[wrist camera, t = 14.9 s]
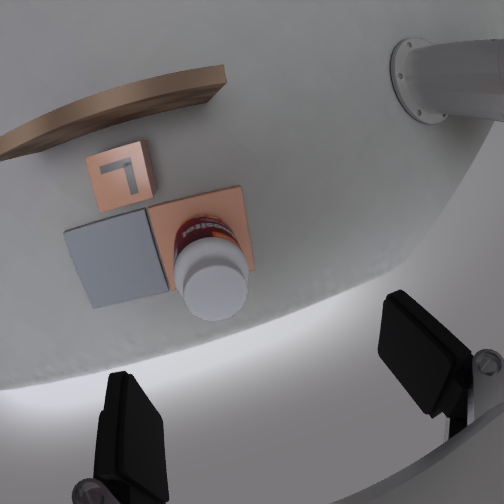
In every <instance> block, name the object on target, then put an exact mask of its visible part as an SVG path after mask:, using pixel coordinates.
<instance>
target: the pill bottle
mask: <svg viewBox="0 0 504 504" xmlns="http://www.w3.org/2000/svg"><path fill="white" fill-rule="evenodd" d="M173 274H174V282H175V286H176V288H177V290H178V292H179V293H180V295H181V296H182V297H183V298H184V301H185V304H186V306H187V308H188V309H189V310H190V312H191V313H192V314H194V315H195V316H197V317H198V318H201V319H203V320H207V321H220V320H224V319H227V318H229V317H231V316H233V315H235V314H236V313H237V312H238V311H239V310H240V309H241V308H242V307H243V305H244V304H245V302H246V299H247V295H248V287H247V283H248V279H249V266H248V262H247V259H246V257H245V255H244V253H243V251H242V249H241V247H240V245H239V243H238V241H237V239H236V237H235V235H234V233H233V231H232V229H231V228H230V226H229V225H228V223H227V222H226V221H225V220H223V219H222V218H221V217H219V216H217V215H214V214H209V213H201V214H196V215H194V216H191V217H189V218H188V219H186V220H185V221H184V222H183V223H182V224H181V225H180V226H179V228H178V230H177V232H176V235H175V240H174V266H173Z"/></svg>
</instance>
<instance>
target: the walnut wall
mask: <svg viewBox="0 0 504 504" xmlns="http://www.w3.org/2000/svg"><path fill="white" fill-rule="evenodd" d="M226 83H227V81H226V75H225V69H224V65H216V66H210V67H203V68H197V69H191V70H186V71H181V72H176V73H171V74H166V75H162V76H157V77H153V78H149V79H145V80H141V81H137V82H134V83H130V84H127V85H123V86H120V87H116V88H113V89H110V90H107V91H104V92H101V93H98V94H95V95H92V96H89V97H86V98H84V99H81V100H78V101H76V102H73V103H70V104H68V105H65V106H63V107H60V108H58V109H56V110H53V111H51V112H49V113H47V114H44V115H42V116H40V117H38V118H36V119H33V120H31V121H29V122H27V123H25V124H23V125H21V126H19V127H17V128H15V129H13V130H12V131H10V132H8V133H6V134H4V135H2V136H1V137H0V161H4V160H8V159H12V158H16V157H20V156H24V155H28V154H33V153H37V152H42V151H44V150H47V149H49V148H51V147H54V146H56V145H59V144H61V143H64V142H66V141H69V140H71V139H74V138H77V137H80V136H82V135H85V134H88V133H91V132H94V131H97V130H100V129H103V128H106V127H109V126H112V125H115V124H119V123H122V122H126V121H129V120H133V119H136V118H140V117H144V116H147V115H151V114H155V113H159V112H164V111H168V110H172V109H177V108H181V107H186V106H191V105H196V104H202V103H207V102H208V101H209V100H210V99H211V98H212V97H213V96H214V95H215V94H216V93H217V92H218V91H219V90H220V89H221V88H222V87H223V86H224V85H225V84H226Z"/></svg>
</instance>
